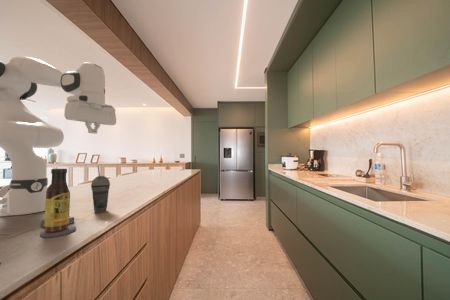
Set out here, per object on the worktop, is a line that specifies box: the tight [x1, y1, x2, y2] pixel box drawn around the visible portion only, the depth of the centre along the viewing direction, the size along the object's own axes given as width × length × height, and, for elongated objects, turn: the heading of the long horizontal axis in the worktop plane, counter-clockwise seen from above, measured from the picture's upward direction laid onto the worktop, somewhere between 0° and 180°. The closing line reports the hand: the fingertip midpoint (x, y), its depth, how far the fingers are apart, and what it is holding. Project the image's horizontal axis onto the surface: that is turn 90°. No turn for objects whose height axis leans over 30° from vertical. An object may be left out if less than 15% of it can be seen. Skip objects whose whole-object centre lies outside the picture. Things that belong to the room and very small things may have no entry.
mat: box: [39, 224, 77, 239], centre depth 67 cm, size 9×9×1 cm
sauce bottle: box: [43, 168, 71, 232], centre depth 67 cm, size 7×6×20 cm
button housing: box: [40, 215, 75, 228], centre depth 74 cm, size 7×7×2 cm
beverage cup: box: [90, 165, 111, 214], centre depth 90 cm, size 7×7×20 cm
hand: (92, 133), depth 88 cm, fingers closed
